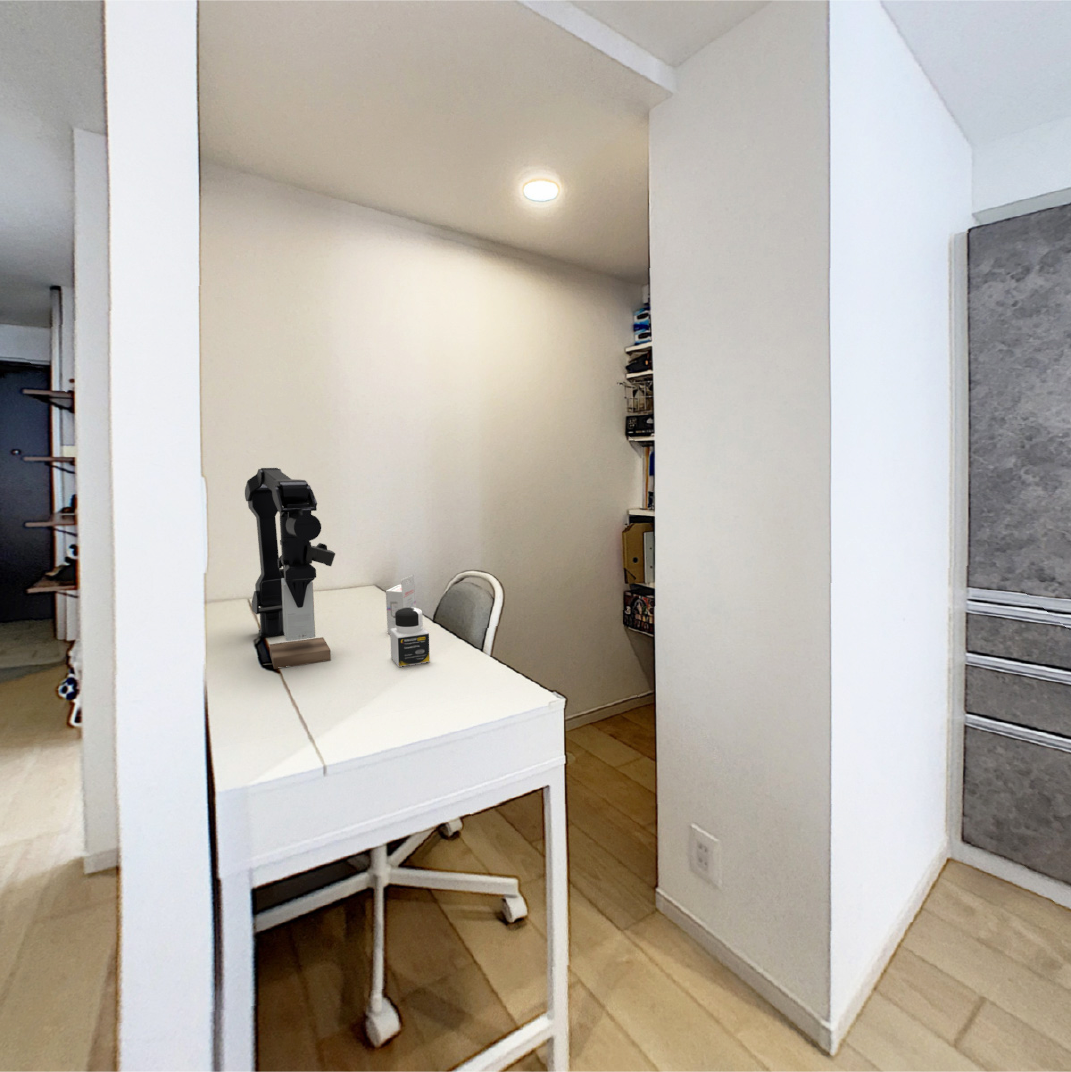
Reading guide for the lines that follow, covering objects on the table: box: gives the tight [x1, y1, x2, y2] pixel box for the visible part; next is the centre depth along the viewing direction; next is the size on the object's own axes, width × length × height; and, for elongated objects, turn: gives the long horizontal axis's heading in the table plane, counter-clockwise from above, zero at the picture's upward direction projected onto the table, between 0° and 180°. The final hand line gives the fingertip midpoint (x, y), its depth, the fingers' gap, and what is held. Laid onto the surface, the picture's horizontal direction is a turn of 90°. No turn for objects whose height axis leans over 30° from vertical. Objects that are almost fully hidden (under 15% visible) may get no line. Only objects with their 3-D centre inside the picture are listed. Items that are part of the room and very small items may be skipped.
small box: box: [281, 578, 316, 642], centre depth 137 cm, size 8×6×13 cm
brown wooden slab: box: [268, 636, 332, 670], centre depth 138 cm, size 11×12×2 cm
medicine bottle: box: [389, 607, 430, 668], centre depth 136 cm, size 7×7×12 cm
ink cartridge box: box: [385, 573, 417, 635], centre depth 160 cm, size 9×5×15 cm, turn 168°
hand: (297, 603), depth 137 cm, fingers closed on small box, 8 cm apart
